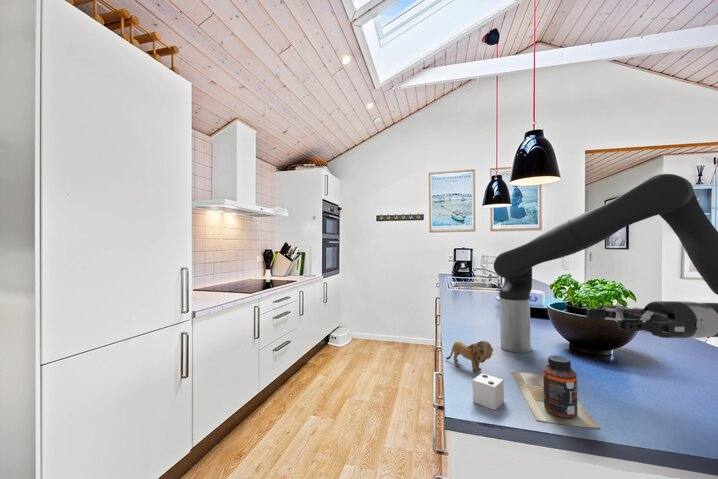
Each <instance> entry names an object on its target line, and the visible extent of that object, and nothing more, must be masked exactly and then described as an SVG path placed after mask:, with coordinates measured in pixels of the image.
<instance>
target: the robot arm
mask: <svg viewBox="0 0 718 479" xmlns="http://www.w3.org/2000/svg"><path fill="white" fill-rule="evenodd" d="M658 215H659V217H660V218H661V219H663V221H665V222H666V224H668V226H669V227H670V228H671V229H672V230H673V232H674V233H675V235H676V236H677V238H678V240H679V242H680V243H681V245H682V247H683V248H684V251H685V253H686V254H687V256H688V257H689V259H690V261H691V264H692V265H693V267H694V268H695V269H696V271H697V272H698V274H699V275H700V276H701V278H702V279H703V281H704V282H705V284H706V285H707V286H708V287H709V289H710V291H712V292H713V293H714V294H715V295H717V296H718V230H717V228H716V227H715V226H714V224H712V222H711V221H710V219H709V218H708V216H707V215H706V213H705V212H704V210H703V209H702V206H701V204H700V202H699V200H698V199H697V196H696V194H695V192H694V186H693V184H692V183H691V182H690V180H688V179H686V178H685V177H684V176H680V175H678V174H677V175H676V174H673V173H662V174H661V173H660V174H656V175H653V176H650V177H648V178H646V179H645V180H644V181H642V182H640V183H639V184H637V185H636V186H634V187H633V188H631V189H629V190H628V191H625V192H624V193H623V194H621V195H619V196H617V197H616V198H614V199H612V200H610V201H609V202H607V203H604V204H602V205H600V206H597V207H594V208H593V209H590V210H588V211H585V212H583V213H581V214H579V215H577V216H574V217H572V218H571V219H568V220H567V221H565V222H562V223H561V224H558V225H557V226H555V227H553V228H552V229H550V230H547V231H546V232H544V233H542V234H540V235H539V236H537V237H536V238H534V239H532V240H530V241H529V242H526V243H525V244H522V245H520V246H517V247H515V248H512V249H509V250H506V251H503V252H501V253H499V255H498V256H496V257H495V260H494V262H493V271H494V272H495V273H496V274H497V276H499V277H500V278H503V279H504V282H503V283H504V284H502V287H501V288H500V289H499V292H498V293H499V294H498V295H499V322H500V323H499V329H500V331H499V332H500V334H499V336H500V337H499V338H500V348H501V349H503V350H504V351H507V352H511V353H519V354H525V353H530V352H531V351H532V345H531V344H532V341H531V340H532V339H531V334H532V333H531V332H532V331H531V306H530V304H531V303H530V302H531V301H530V300H531V299H530V295H531V291H532V289H533V267H536V266H537V265H539V264H542V263H546V262H550V261H553V260H557V259H561V258H564V257H569V256H571V255H574V254H576V253H579V252H581V251H584V250H586V249H588V248H591V247H593V246H595V245H597V244H599V243H601V242H602V241H605V240H606V239H608V238H610V237H611V236H613V235H614V234H615V233H617V232H619V231H620V230H622V229H624V228H626V227H628V226H631V225H633V224H636V223H638V222H641V221H644V220H647V219H650V218H652V217H655V216H656V217H657V216H658ZM585 315H586V316H585V317H586V318H587V319H590V320H607V321H608V320H609V321H615V322H616V323H617V326H616V327H617V329H618V330H619V331H621V332H640V333H642V334H646V333H649V334H651V335H653V336H654V337H655V336H656V337H659V338H662V339H663V338H664V339H702V338H718V302H695V301H679V300H678V301H676V300H675V301H669V300H668V301H666V300H664V301H662V300H661V301H660V300H659V301H658V300H656V301H651V302H649V303H647V304H646V305H645V306H644V308H640V307H632V308H631V307H628V306H626V305H599V306H598V308H587V309H586V313H585Z"/></svg>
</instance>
